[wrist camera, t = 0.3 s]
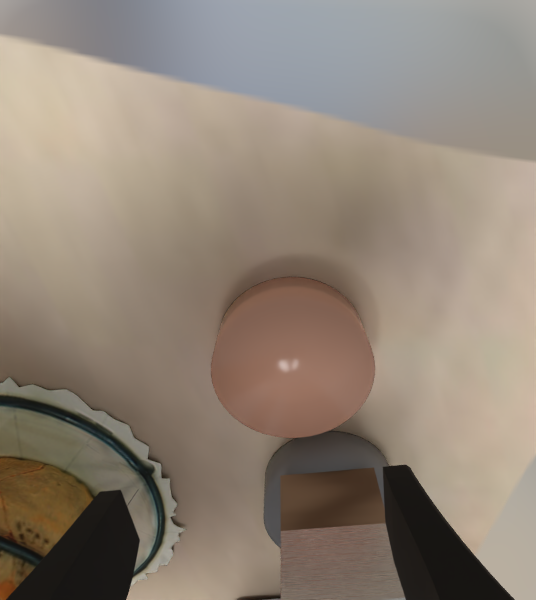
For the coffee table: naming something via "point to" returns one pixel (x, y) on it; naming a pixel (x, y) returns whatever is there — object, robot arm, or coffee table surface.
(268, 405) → the stand
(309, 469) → the stand
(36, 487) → the decorative vase
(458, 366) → the coffee table surface
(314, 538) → the housing
